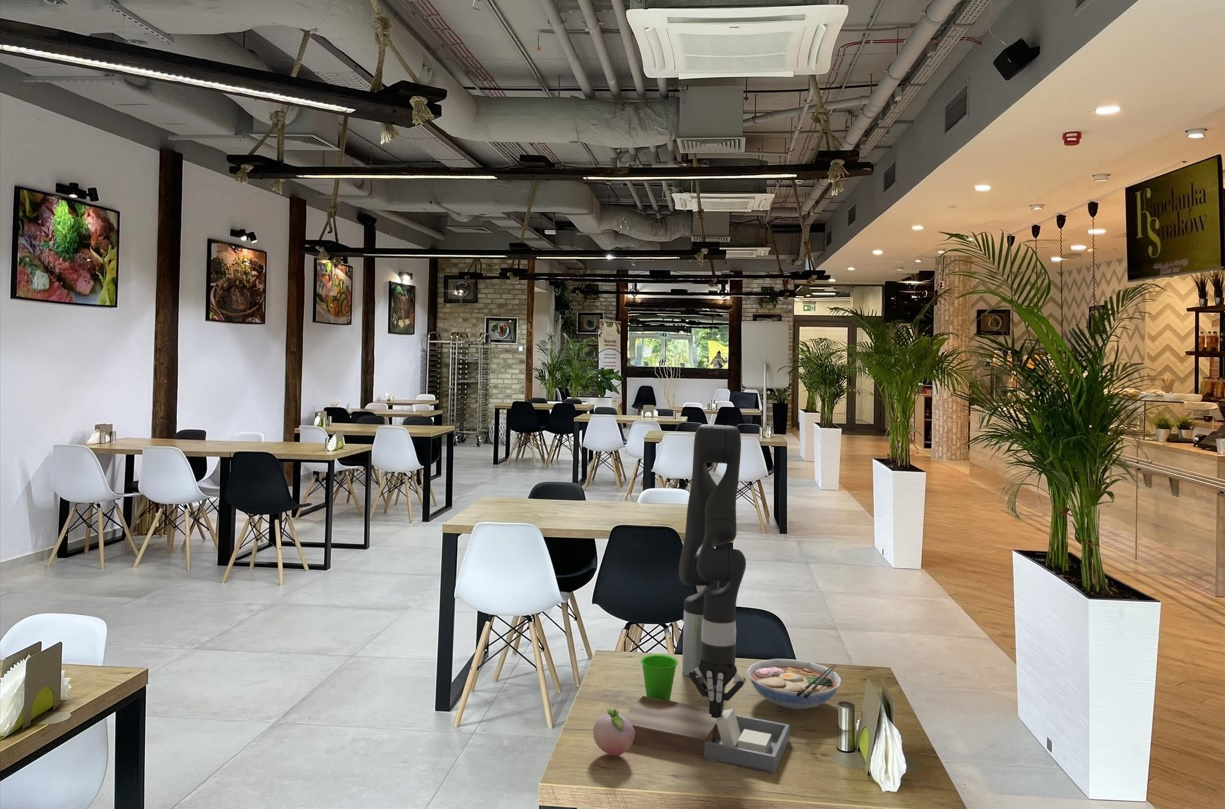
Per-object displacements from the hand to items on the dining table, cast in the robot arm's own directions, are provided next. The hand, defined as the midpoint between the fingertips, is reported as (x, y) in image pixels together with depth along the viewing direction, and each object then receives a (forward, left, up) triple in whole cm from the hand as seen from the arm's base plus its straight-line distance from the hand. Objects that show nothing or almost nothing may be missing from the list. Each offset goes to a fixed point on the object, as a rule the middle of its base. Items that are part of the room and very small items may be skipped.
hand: (715, 716), depth 176 cm
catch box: (0, +7, -6) cm, 9 cm away
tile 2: (0, +9, -3) cm, 9 cm away
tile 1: (0, +2, -3) cm, 3 cm away
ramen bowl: (-29, +12, -6) cm, 32 cm away
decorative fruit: (+15, -18, -6) cm, 25 cm away
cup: (-14, -18, -6) cm, 23 cm away
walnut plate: (0, -10, -6) cm, 12 cm away
